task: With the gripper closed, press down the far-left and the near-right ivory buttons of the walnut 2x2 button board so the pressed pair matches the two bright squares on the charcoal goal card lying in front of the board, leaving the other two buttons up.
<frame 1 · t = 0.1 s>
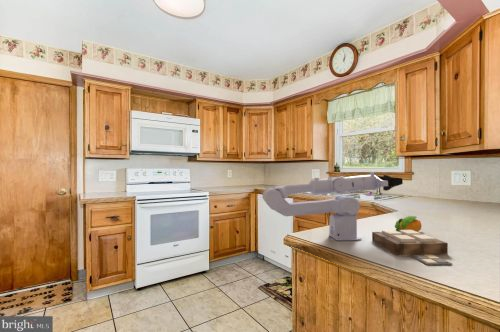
hand: (395, 180, 96), 22 cm above the counter, tool horizontal, fingers open, 7 cm apart
button near left: (391, 234, 87), point 4 cm above the counter, slide at 0.0 cm
button board: (406, 247, 84), on the counter
goal card: (430, 260, 72), on the counter
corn: (409, 235, 100), on the counter
button far left: (409, 234, 87), point 3 cm above the counter, slide at 0.0 cm
button near right: (403, 240, 80), point 4 cm above the counter, slide at 0.0 cm
button far right: (423, 239, 81), point 3 cm above the counter, slide at 0.0 cm
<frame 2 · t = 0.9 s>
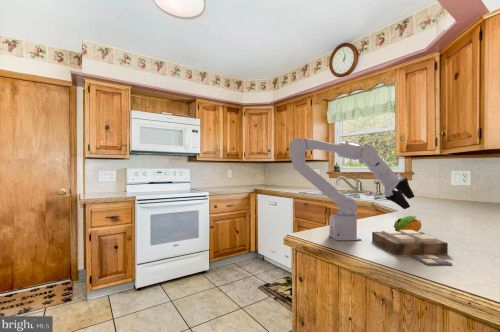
hand: (409, 202, 91), 14 cm above the counter, tool tilted 40°, fingers open, 7 cm apart
nothing on the counter moved.
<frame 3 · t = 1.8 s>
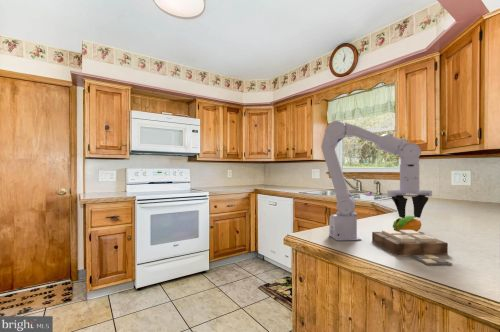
hand: (409, 217, 87), 9 cm above the counter, tool pointing down, fingers open, 5 cm apart
nothing on the counter moved.
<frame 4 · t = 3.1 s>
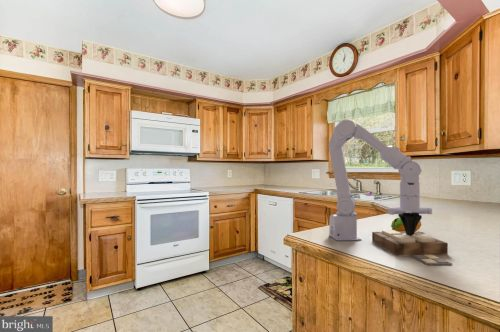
hand: (409, 235, 87), 3 cm above the counter, tool pointing down, fingers closed, pressing on button far left
button far left: (409, 237, 87), point 2 cm above the counter, slide at 1.2 cm, touching gripper
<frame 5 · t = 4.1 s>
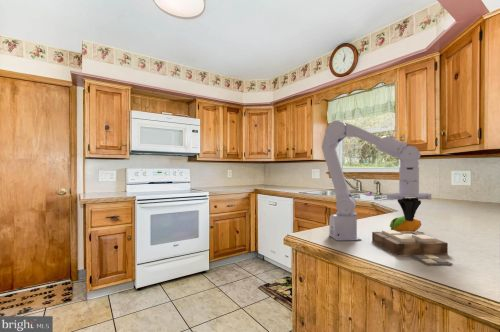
hand: (409, 220, 87), 8 cm above the counter, tool pointing down, fingers closed
button far left: (409, 238, 87), point 2 cm above the counter, slide at 1.3 cm
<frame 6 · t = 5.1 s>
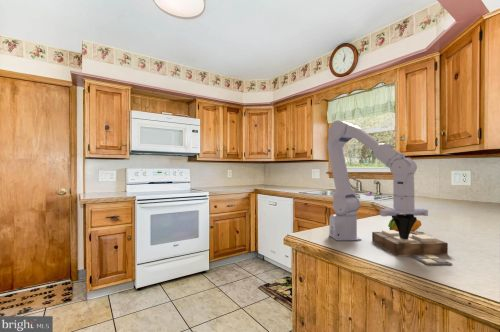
hand: (404, 238, 80), 4 cm above the counter, tool pointing down, fingers closed, pressing on button near right
button near right: (403, 241, 80), point 3 cm above the counter, slide at 0.5 cm, touching gripper
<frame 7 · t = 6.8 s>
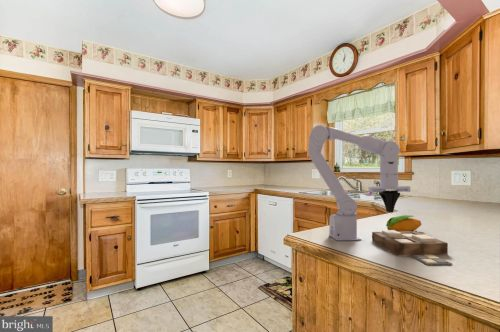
hand: (389, 211, 92), 10 cm above the counter, tool pointing down, fingers closed
button near right: (403, 244, 80), point 2 cm above the counter, slide at 1.3 cm
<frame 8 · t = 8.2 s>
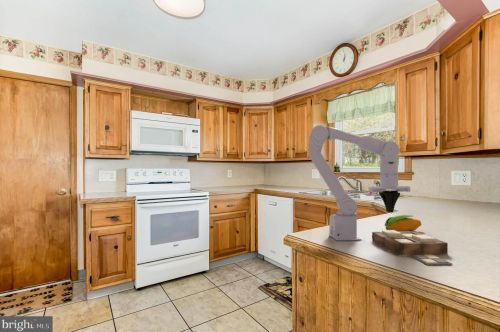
hand: (389, 211, 92), 10 cm above the counter, tool pointing down, fingers closed
at the end: button far left slide at 1.3 cm; button near right slide at 1.3 cm; button near left slide at 0.0 cm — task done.
